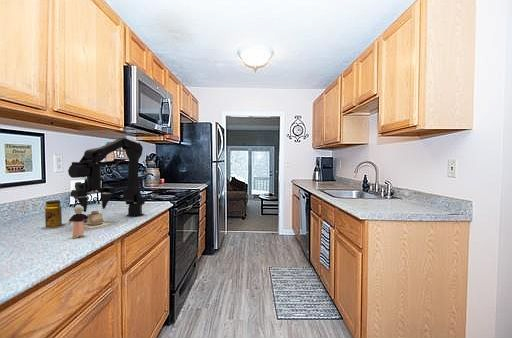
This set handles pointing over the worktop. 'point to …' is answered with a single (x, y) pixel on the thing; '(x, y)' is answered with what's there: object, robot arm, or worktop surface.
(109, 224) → the cream square plate
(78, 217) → the grandmother figurine
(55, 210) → the condiment
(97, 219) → the stamp
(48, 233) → the worktop surface
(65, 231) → the worktop surface
